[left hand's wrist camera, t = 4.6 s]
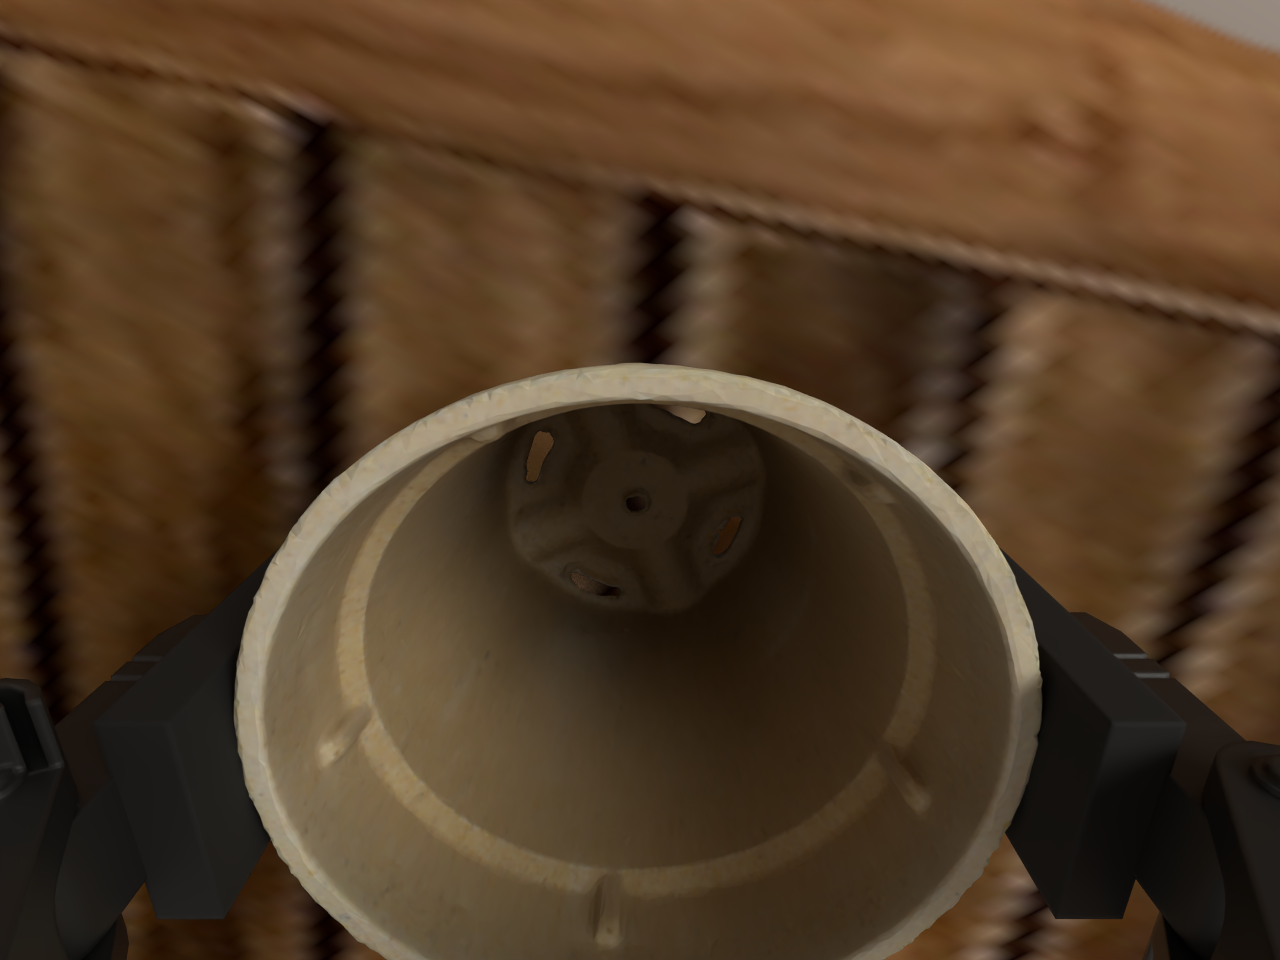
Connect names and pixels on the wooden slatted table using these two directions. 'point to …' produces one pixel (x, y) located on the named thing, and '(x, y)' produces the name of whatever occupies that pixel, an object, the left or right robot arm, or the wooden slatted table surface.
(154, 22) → the wooden slatted table surface
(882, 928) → the plastic plant pot
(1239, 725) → the wooden slatted table surface
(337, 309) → the wooden slatted table surface
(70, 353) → the wooden slatted table surface
